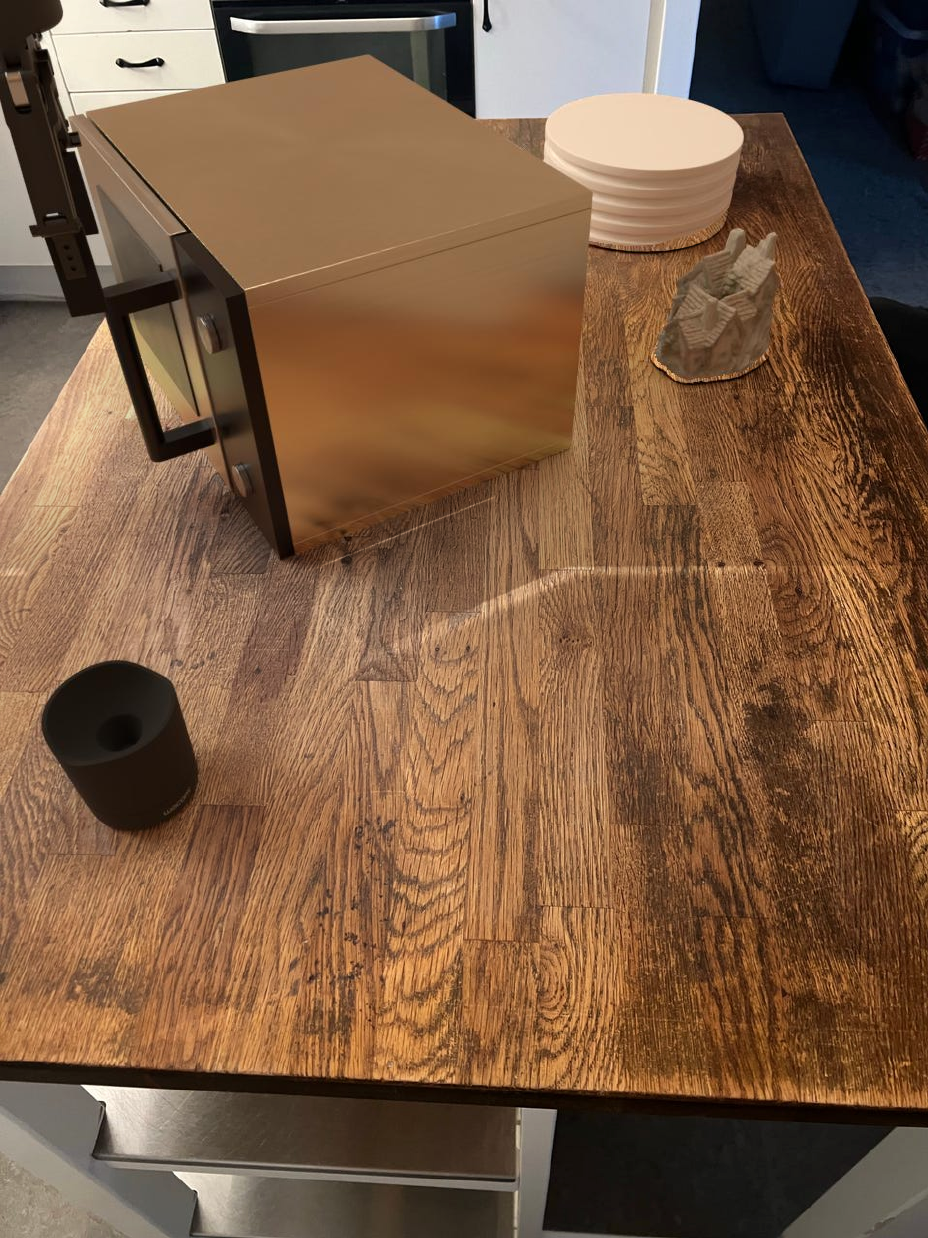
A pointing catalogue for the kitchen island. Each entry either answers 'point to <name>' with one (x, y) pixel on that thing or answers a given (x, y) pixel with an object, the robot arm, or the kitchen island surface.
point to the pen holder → (122, 743)
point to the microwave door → (150, 305)
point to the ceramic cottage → (721, 311)
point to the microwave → (365, 288)
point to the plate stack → (646, 163)
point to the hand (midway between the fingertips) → (86, 271)
